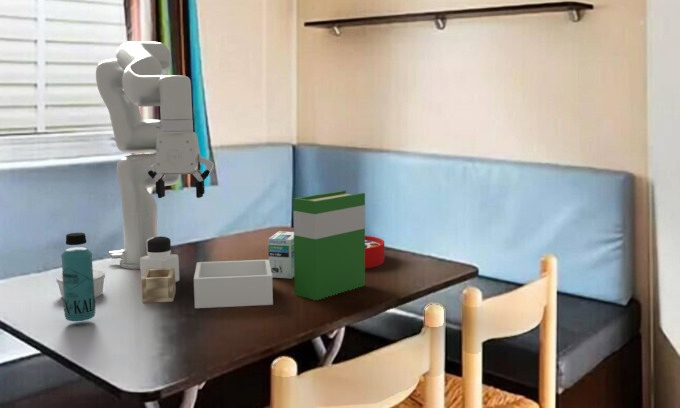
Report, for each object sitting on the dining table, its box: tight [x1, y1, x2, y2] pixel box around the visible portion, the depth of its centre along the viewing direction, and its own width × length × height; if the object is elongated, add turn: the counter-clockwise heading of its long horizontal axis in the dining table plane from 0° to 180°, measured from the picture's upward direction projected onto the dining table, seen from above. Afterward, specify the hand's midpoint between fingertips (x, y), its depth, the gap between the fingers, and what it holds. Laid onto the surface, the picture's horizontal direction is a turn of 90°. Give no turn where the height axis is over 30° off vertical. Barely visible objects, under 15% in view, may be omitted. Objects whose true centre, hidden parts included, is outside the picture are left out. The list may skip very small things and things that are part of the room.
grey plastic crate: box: [193, 259, 274, 309], centre depth 178 cm, size 18×16×7 cm
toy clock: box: [365, 235, 385, 269], centre depth 214 cm, size 20×6×20 cm
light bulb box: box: [267, 230, 294, 280], centre depth 199 cm, size 11×7×11 cm, turn 168°
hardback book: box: [292, 189, 366, 301], centre depth 182 cm, size 18×7×24 cm, turn 137°
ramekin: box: [56, 269, 106, 299], centre depth 180 cm, size 11×11×5 cm
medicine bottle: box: [139, 235, 180, 285], centre depth 190 cm, size 7×7×12 cm
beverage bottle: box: [60, 232, 96, 322], centre depth 157 cm, size 6×7×20 cm
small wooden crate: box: [141, 268, 177, 304], centre depth 178 cm, size 7×9×6 cm
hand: (180, 197), depth 179 cm, fingers open, 9 cm apart
